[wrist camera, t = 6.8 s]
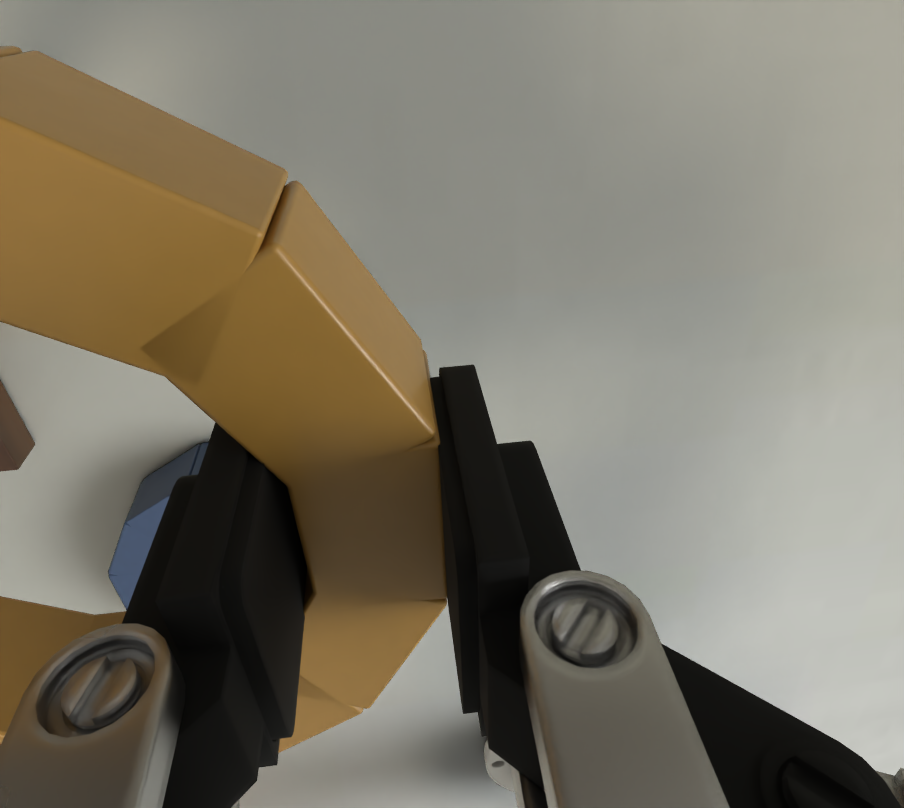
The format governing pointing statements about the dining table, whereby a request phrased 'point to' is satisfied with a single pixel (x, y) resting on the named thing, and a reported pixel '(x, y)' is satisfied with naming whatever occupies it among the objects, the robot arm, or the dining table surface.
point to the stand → (12, 435)
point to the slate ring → (148, 520)
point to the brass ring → (229, 358)
